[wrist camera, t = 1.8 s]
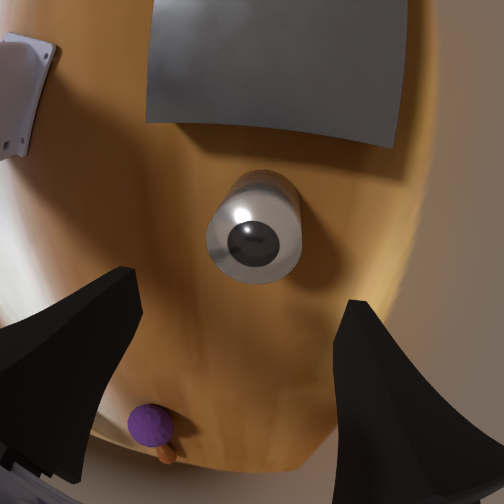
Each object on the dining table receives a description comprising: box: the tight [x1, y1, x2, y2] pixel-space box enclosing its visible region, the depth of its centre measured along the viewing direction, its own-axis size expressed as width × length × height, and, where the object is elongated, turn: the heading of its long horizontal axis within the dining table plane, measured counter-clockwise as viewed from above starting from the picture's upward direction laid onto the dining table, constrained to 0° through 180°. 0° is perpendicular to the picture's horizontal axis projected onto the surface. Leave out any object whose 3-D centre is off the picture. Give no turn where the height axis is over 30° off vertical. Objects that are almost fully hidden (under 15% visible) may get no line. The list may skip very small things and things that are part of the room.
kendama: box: [128, 404, 177, 464], centre depth 35 cm, size 6×6×20 cm
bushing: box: [206, 170, 302, 284], centre depth 16 cm, size 4×4×5 cm
